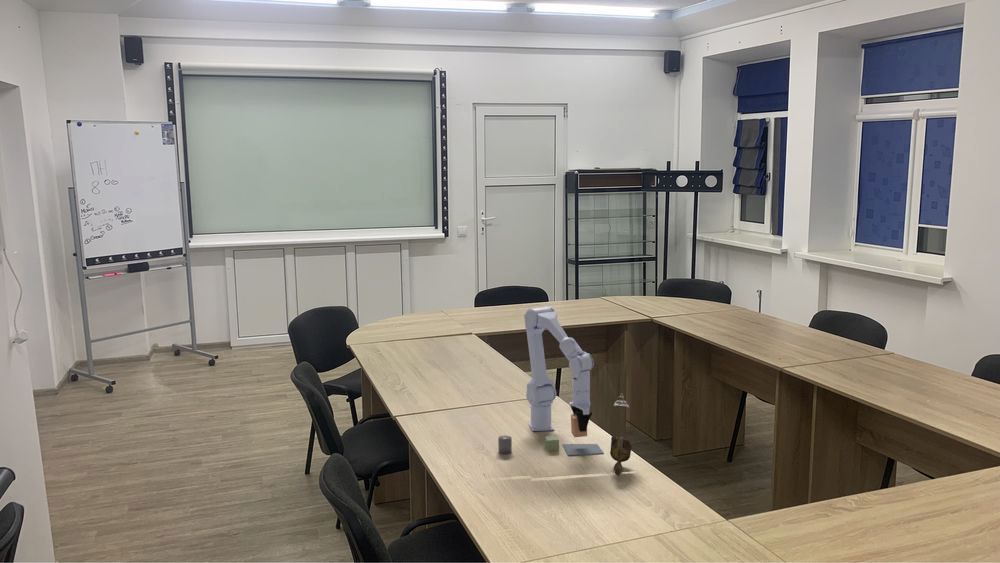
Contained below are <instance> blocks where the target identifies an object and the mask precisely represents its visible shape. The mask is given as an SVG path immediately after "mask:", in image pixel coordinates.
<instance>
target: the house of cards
mask: <svg viewBox="0 0 1000 563" xmlns="http://www.w3.org/2000/svg"><path fill="white" fill-rule="evenodd" d="M621 395H622V396H621ZM618 398H622V399H624V398H625V396H624V395H623V393H620V395H619V396H618ZM621 406H622V407H623V408H624V407H625V408H626V407H627V408H629V407H630V406H629V404H628V402H627V401H626V400H616V401H615V403H614V404H613V407H621Z"/></svg>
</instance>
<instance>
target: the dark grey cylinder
mask: <svg viewBox="0 0 1000 563" xmlns="http://www.w3.org/2000/svg"><path fill="white" fill-rule="evenodd" d="M512 443H513V442H512V436H511V435H505V434H504V435H500V436H498V454H501V455H510V454H511V453H512V452H513V450H512V449H513V448H512V447H513V446H512Z"/></svg>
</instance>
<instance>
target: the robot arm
mask: <svg viewBox="0 0 1000 563" xmlns="http://www.w3.org/2000/svg"><path fill="white" fill-rule="evenodd" d="M523 319H524V324H525V331H526V336H527V346H528V352H529V353H528V355H529V363H530V369H531V370H530V371H531V377H532V378H531V379H530V380H529V381H528V383H527V384H526V395H525V396H526V400H527V401H528V403H529V405H530V420H529V421H527V423H529V424H528V425H529V427H530V429H531V431H532V432H541V431H542V432H543V431H555V428H554V425H553V424H552V404H554V400H555V399H556V397H557V390H556V388H555V386H554V380H552V379H551V378H550V377H549V376H548V373H547V364H546V358H545V348H544V341H543V333H544V331H545V330H548V332H549V333H551V335H552V336H553V337H554V338H555V339H556V341H557V342H559V349H560V351H561V352H562V354H563V355H564V356H565V358H566V359H567V361H568V367H569V369H570V371H571V372H570V373H571V374H570V376H571V377H572V401H569V403H568V404H569V406H570V409H571V411H572V414H576V416H577V419H578V425H579V430H580V432H583V431H586V430H587V431H588V425H589V421H590V419H591V417H592V416H593V411H591V410H590V406H591V400H590V399H591V398H590V397H591V391H590V390H591V382H590V381H591V370H593V368H594V365H595V363H594V359H593V357H592V354H590V353H588V352H586V350H585V351H583V349H582V348H581V347H580V345H579V344H578V342H576V340H575V338H573V337H568V335H567V333H566V332H565V330H564V329H563V327H562V326H561V323H560V322H559V320H558V313H557V312H556V310H555V309H554V308H553V306H550V305H549V306H542V307H537V308H529V309H527V310H526V311H525V313H524V315H523Z"/></svg>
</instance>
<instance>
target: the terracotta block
mask: <svg viewBox="0 0 1000 563" xmlns="http://www.w3.org/2000/svg"><path fill="white" fill-rule="evenodd" d="M570 425H571V426H570V427H571V428H570V430H571V434H572V436H573V437H574V438H581V437H587V436H588V429H587V430H586V431H583V432H580V430H579V425H578V419H577V416H576V414H573V413H572V414H570Z"/></svg>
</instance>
